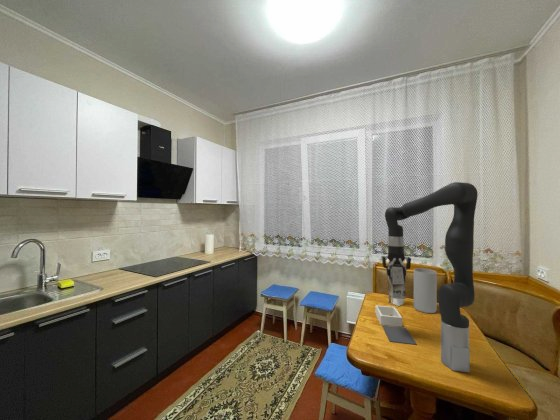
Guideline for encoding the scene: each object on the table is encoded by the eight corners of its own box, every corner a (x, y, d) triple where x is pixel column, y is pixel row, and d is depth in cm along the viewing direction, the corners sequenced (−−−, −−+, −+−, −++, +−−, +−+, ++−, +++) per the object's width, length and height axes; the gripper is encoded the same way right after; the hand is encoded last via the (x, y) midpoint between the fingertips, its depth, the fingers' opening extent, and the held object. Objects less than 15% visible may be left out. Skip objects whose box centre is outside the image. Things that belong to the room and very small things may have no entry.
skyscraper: (394, 300, 159) (395, 261, 159) (406, 304, 152) (406, 263, 152) (387, 303, 154) (388, 262, 154) (399, 307, 148) (399, 265, 148)
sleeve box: (402, 326, 123) (402, 317, 123) (380, 324, 125) (380, 315, 125) (394, 315, 137) (394, 307, 137) (375, 313, 139) (375, 305, 139)
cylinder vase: (433, 306, 149) (433, 269, 149) (439, 315, 137) (439, 274, 137) (411, 304, 153) (411, 267, 153) (415, 311, 142) (416, 272, 142)
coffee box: (406, 299, 114) (405, 267, 114) (392, 298, 115) (391, 266, 115) (400, 293, 123) (400, 263, 123) (387, 292, 124) (387, 263, 124)
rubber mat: (417, 344, 107) (417, 344, 107) (389, 341, 109) (389, 340, 109) (406, 328, 121) (406, 327, 121) (382, 326, 124) (382, 325, 124)
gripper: (383, 245, 117) (383, 277, 117) (413, 246, 114) (414, 279, 114) (379, 243, 125) (380, 274, 124) (408, 244, 122) (408, 275, 121)
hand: (396, 276), depth 119 cm, fingers closed on coffee box, 6 cm apart
